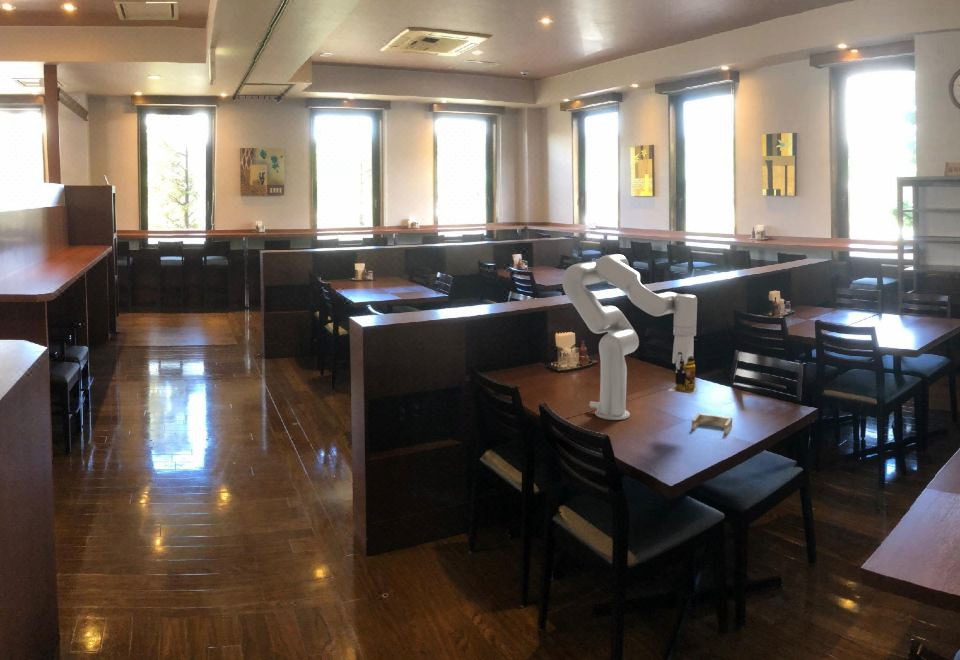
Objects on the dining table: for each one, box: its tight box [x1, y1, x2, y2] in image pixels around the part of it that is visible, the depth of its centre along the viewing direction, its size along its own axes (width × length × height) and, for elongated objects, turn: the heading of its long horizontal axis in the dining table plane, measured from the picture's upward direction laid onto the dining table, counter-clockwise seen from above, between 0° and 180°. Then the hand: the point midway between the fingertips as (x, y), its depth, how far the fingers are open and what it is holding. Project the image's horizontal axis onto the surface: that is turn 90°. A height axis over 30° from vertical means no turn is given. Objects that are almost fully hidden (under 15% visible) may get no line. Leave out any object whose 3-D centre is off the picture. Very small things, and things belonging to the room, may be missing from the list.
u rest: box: [691, 412, 733, 436], centre depth 268 cm, size 12×9×4 cm
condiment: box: [667, 355, 698, 395], centre depth 263 cm, size 7×8×12 cm
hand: (683, 381), depth 263 cm, fingers closed on condiment, 6 cm apart
